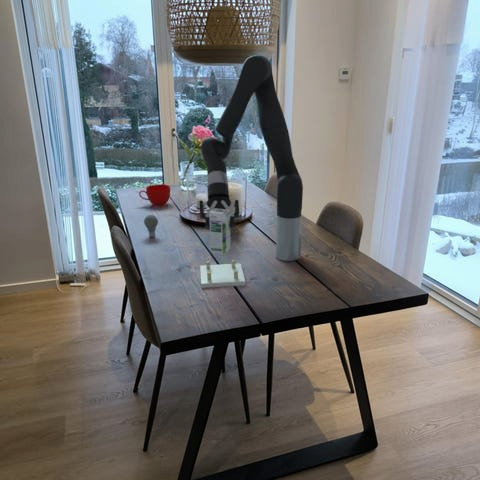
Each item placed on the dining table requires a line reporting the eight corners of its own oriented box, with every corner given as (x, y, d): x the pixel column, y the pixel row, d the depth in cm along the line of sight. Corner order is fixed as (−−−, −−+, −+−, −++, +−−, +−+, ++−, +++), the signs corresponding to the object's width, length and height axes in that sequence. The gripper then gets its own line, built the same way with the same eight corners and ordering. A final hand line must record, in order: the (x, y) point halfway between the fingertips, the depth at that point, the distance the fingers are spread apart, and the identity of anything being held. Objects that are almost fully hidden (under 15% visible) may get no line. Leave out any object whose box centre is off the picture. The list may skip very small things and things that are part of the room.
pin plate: (240, 267, 163) (240, 257, 162) (245, 285, 149) (245, 274, 148) (200, 269, 162) (199, 259, 160) (201, 287, 148) (200, 277, 146)
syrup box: (209, 252, 151) (208, 212, 146) (215, 246, 156) (215, 207, 151) (225, 254, 149) (224, 213, 144) (230, 247, 155) (230, 208, 149)
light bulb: (145, 239, 191) (143, 217, 187) (144, 234, 196) (143, 213, 193) (159, 238, 192) (158, 216, 189) (158, 233, 198) (156, 212, 194)
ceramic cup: (139, 203, 244) (137, 186, 240) (169, 200, 249) (168, 183, 245) (141, 209, 232) (139, 191, 229) (172, 206, 237) (171, 189, 234)
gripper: (197, 181, 152) (199, 224, 145) (238, 180, 153) (242, 223, 147) (197, 192, 159) (199, 233, 152) (236, 191, 160) (240, 232, 154)
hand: (220, 228), depth 149 cm, fingers closed on syrup box, 7 cm apart
